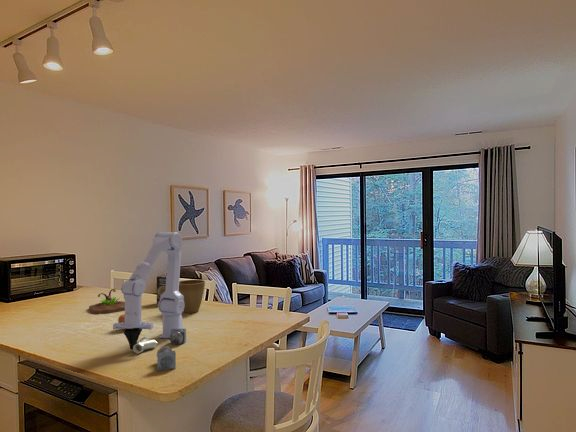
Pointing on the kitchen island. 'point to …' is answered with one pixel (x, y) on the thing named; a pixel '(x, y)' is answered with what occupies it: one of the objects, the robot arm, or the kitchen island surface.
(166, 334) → the robot arm
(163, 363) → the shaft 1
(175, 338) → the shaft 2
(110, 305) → the plant
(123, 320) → the apple
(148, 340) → the pipe fitting
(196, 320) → the kitchen island surface
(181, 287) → the plant pot
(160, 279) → the coffee box
